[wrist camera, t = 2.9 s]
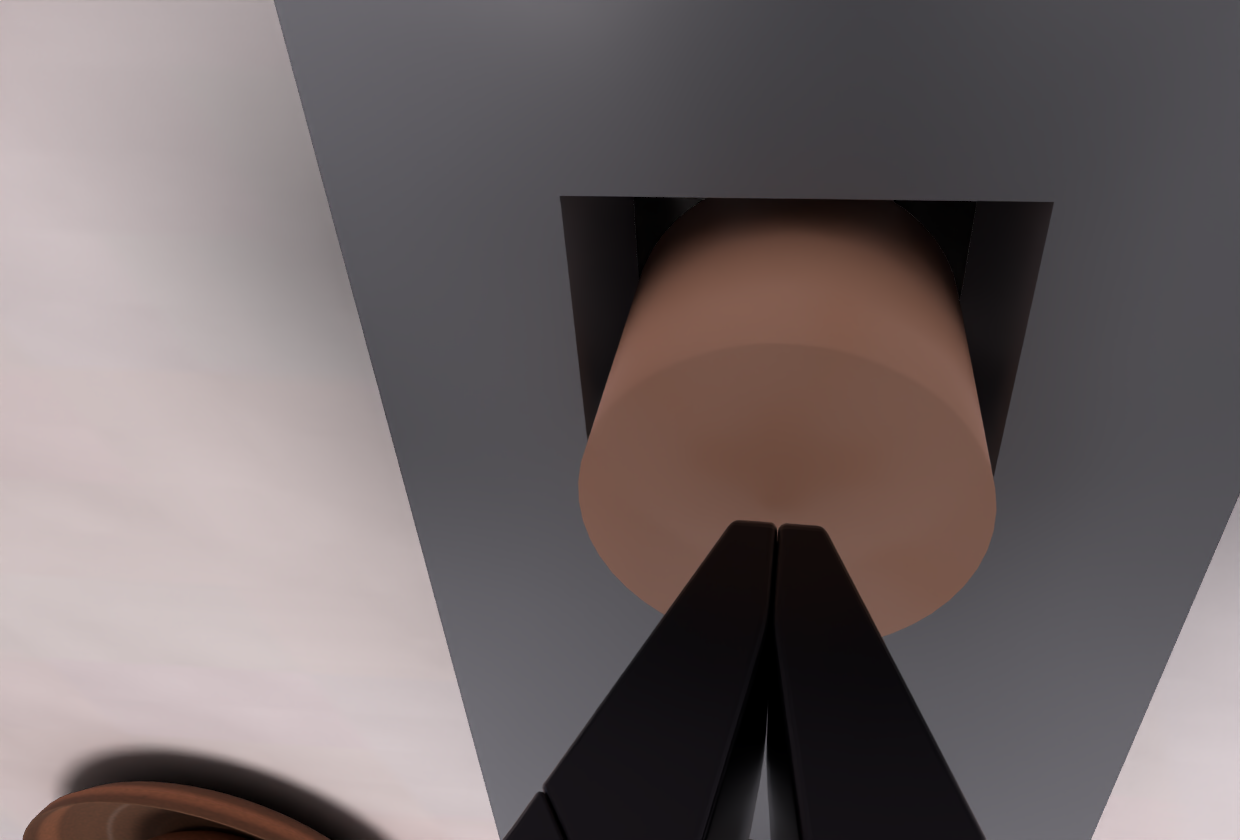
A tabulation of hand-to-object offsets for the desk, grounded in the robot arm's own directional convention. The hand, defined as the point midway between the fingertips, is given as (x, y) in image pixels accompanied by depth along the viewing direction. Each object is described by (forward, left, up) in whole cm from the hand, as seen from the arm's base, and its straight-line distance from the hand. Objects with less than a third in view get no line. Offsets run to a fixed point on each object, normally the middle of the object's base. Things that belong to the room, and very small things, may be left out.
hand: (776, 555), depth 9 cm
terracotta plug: (0, 0, -4) cm, 4 cm away
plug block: (0, +6, -7) cm, 9 cm away
